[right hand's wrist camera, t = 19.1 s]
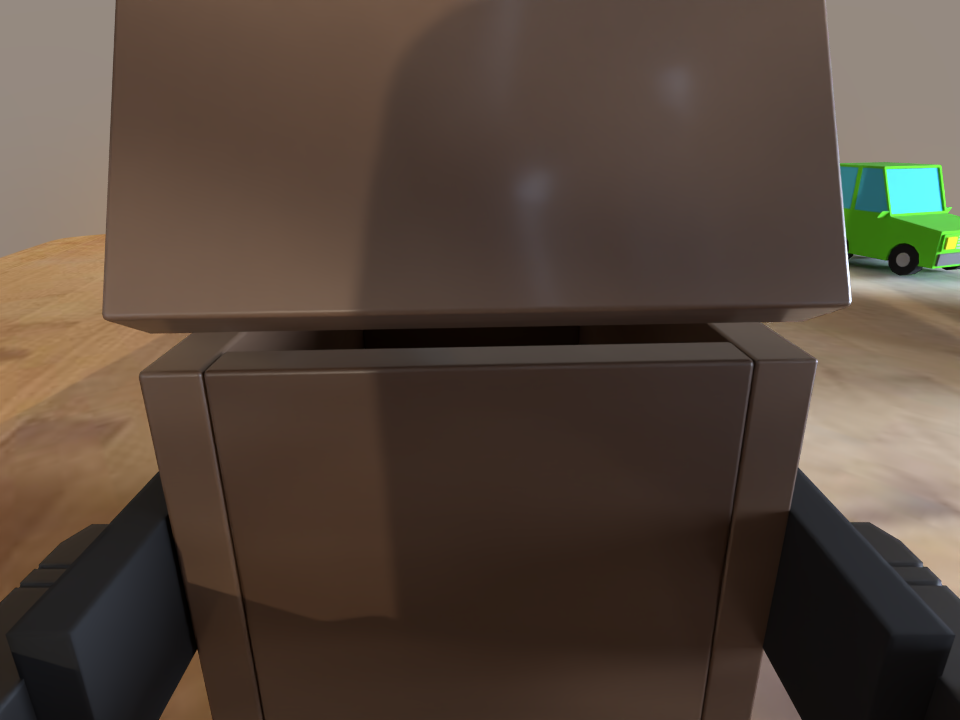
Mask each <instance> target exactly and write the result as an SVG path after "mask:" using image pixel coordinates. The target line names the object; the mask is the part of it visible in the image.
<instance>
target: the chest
mask: <svg viewBox="0 0 960 720" xmlns="http://www.w3.org/2000/svg"><path fill="white" fill-rule="evenodd" d="M817 363H818V362H817V359H816V358H814V357H813V356H811V355H810V354H808V353H807V352H805V351H804V350H802V349H800V348H799V347H797V346H796V345H794V344H793V343H791V342H790V341H788V340H787V339H785V338H784V337H782V336H780V335H779V334H777V333H776V332H774V331H773V330H771V329H770V328H768V327H767V326H765V325H764V324H762V323H760V322H743V323H690V324H636V325H582V326H529V327H475V328H421V329H367V330H314V331H260V332H206V333H192V334H190V335H189V336H188V337H186V338H185V339H184V340H182V341H181V342H180V343H178V344H177V345H176V346H174V347H173V348H172V349H170V350H169V351H168V352H166V353H165V354H164V355H162V356H161V357H160V358H159V359H157V360H156V361H155V362H153V363H152V364H151V365H149V366H148V367H147V368H145V369H144V370H143V371H141V372H140V374H139V380H140V385H141V389H142V394H143V399H144V403H145V408H146V413H147V417H148V422H149V427H150V431H151V436H152V440H153V445H154V450H155V454H156V459H157V464H158V468H159V473H160V478H161V482H162V487H163V491H164V496H165V501H166V505H167V510H168V515H169V519H170V524H171V529H172V533H173V538H174V542H175V547H176V552H177V556H178V561H179V566H180V570H181V575H182V580H183V584H184V589H185V593H186V598H187V603H188V607H189V612H190V617H191V621H192V626H193V631H194V635H195V640H196V645H197V649H198V654H199V658H200V663H201V668H202V672H203V677H204V682H205V686H206V691H207V696H208V700H209V705H210V709H211V714H212V719H213V720H751V714H752V709H753V704H754V698H755V693H756V688H757V683H758V677H759V672H760V667H761V661H762V656H763V651H764V649H763V643H764V638H765V633H766V628H767V623H768V617H769V612H770V607H771V602H772V597H773V592H774V587H775V582H776V577H777V572H778V567H779V562H780V557H781V552H782V547H783V542H784V536H785V531H786V526H787V521H788V516H789V511H790V507H791V501H792V496H793V491H794V486H795V480H796V475H797V470H798V464H799V459H800V454H801V448H802V443H803V438H804V432H805V427H806V422H807V416H808V411H809V406H810V400H811V395H812V390H813V384H814V379H815V374H816V368H817Z"/></svg>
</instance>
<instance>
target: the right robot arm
mask: <svg viewBox="0 0 960 720" xmlns="http://www.w3.org/2000/svg"><path fill="white" fill-rule="evenodd" d="M763 649H764V651H765V653H766V655H767V656H768V658H769V660H770V662H771V664H772V666H773V667H774V669H775V671H776V673H777V675H778V677H779V678H780V680H781V682H782V684H783V686H784V688H785V689H786V691H787V693H788V695H789V697H790V699H791V701H792V702H793V704H794V706H795V708H796V710H797V712H798V713H799V715H800V717H801V719H802V720H960V599H959V598H958V597H957V596H956V595H955V594H954V593H953V592H952V591H951V590H950V589H949V588H948V587H947V586H942V584H941V580H940V579H939V578H938V577H937V576H936V575H935V574H934V573H933V572H932V571H931V570H930V569H929V568H928V567H923V562H921V561H920V560H919V559H918V558H917V557H916V556H915V555H914V554H913V553H912V552H911V551H910V550H909V549H908V548H907V547H906V546H905V545H904V544H903V543H902V542H901V541H900V540H898V539H896V538H895V537H893V536H891V535H890V534H888V533H886V532H885V531H883V530H881V529H880V528H878V527H876V526H875V525H873V524H871V523H870V522H849V521H848V520H847V519H846V518H845V517H844V516H843V514H842V513H841V512H840V511H839V510H838V509H837V508H836V507H835V506H834V505H833V504H832V503H831V502H830V501H829V500H828V499H827V497H826V496H825V495H824V494H823V493H822V492H821V491H820V490H819V489H818V488H817V487H816V486H815V485H814V484H813V483H812V482H811V480H810V479H809V478H808V477H807V476H806V475H805V474H804V473H803V472H802V471H801V470H800V469H799V468H798V470H797V475H796V480H795V486H794V491H793V496H792V501H791V507H790V511H789V516H788V521H787V526H786V531H785V536H784V542H783V547H782V552H781V557H780V562H779V567H778V572H777V577H776V582H775V587H774V592H773V597H772V602H771V607H770V612H769V617H768V623H767V628H766V633H765V638H764V643H763ZM196 650H197V645H196V640H195V635H194V631H193V626H192V621H191V617H190V612H189V607H188V603H187V598H186V593H185V589H184V584H183V580H182V575H181V570H180V566H179V561H178V556H177V552H176V547H175V542H174V538H173V533H172V529H171V524H170V519H169V515H168V510H167V505H166V501H165V496H164V491H163V487H162V482H161V478H160V473H159V472H158V473H157V474H156V475H155V476H154V477H153V478H152V479H151V480H150V481H149V482H148V483H147V484H146V485H145V486H144V488H143V489H142V490H141V491H140V492H139V493H138V494H137V495H136V496H135V497H134V498H133V499H132V500H131V501H130V502H129V504H128V505H127V506H126V507H125V508H124V509H123V510H122V511H121V512H120V513H119V514H118V515H117V516H116V517H115V518H114V519H113V521H112V522H111V523H110V524H91V525H90V526H88V527H86V528H85V529H83V530H81V531H80V532H78V533H76V534H75V535H73V536H72V537H70V538H68V539H67V540H65V541H63V542H62V543H60V544H59V545H58V546H57V547H56V548H55V549H54V550H53V551H52V552H51V553H50V554H49V555H48V556H47V557H46V558H45V559H44V560H43V561H42V562H41V563H40V564H39V568H38V569H34V570H33V571H32V572H31V573H30V574H29V575H28V576H27V577H26V578H25V579H24V580H23V581H22V582H21V583H20V587H19V588H15V589H14V590H13V591H12V592H11V593H10V594H9V595H8V596H7V597H6V598H5V599H4V600H2V601H1V602H0V720H159V718H160V716H161V715H162V713H163V711H164V709H165V707H166V705H167V704H168V702H169V700H170V698H171V696H172V694H173V692H174V691H175V689H176V687H177V685H178V683H179V681H180V680H181V678H182V676H183V674H184V672H185V670H186V669H187V667H188V665H189V663H190V661H191V659H192V658H193V656H194V654H195V652H196Z"/></svg>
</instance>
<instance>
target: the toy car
mask: <svg viewBox="0 0 960 720" xmlns="http://www.w3.org/2000/svg"><path fill="white" fill-rule="evenodd" d="M840 172H841V183H842V195H843V206H844V218H845V229H846V241H847V252H848V259H849V258H850V257H852V256H853V254H856V255H861V256H866V257H871V258H876V259H881V260H888V264H889V267H890V268H891V270H892V272H894V273H896V274H898V275H909V274H915V273H917V272H918V271H920V270H921V269H922V268H923V267H926V268H932V269H933V268H943V269H945V270H954V269H960V217H959V216H956V215H952V214H949V213H948V212H949V211H950V209H951V208H952V207H947V208H946V202H945V193H944V185H943V176H942V167H941V165H930V164H910V163H889V162H879V163H840Z"/></svg>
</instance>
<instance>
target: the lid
mask: <svg viewBox="0 0 960 720" xmlns="http://www.w3.org/2000/svg"><path fill="white" fill-rule="evenodd" d="M851 302H852V299H851V287H850V275H849V264H848V252H847V241H846V229H845V218H844V206H843V195H842V183H841V172H840V160H839V149H838V137H837V126H836V114H835V102H834V91H833V79H832V68H831V57H830V45H829V33H828V22H827V10H826V0H116V10H115V33H114V56H113V80H112V102H111V126H110V149H109V172H108V195H107V218H106V241H105V265H104V288H103V311H102V315H103V318H104V319H105V320H107V321H110V322H114V323H117V324H120V325H124V326H127V327H130V328H134V329H137V330H141V331H144V332H147V333H151V334H153V333H206V332H260V331H314V330H367V329H421V328H475V327H529V326H582V325H636V324H690V323H743V322H797V321H805V320H808V319H812V318H815V317H818V316H821V315H824V314H827V313H831V312H834V311H837V310H840V309H843V308H846V307H848V306H850V305H851Z"/></svg>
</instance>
